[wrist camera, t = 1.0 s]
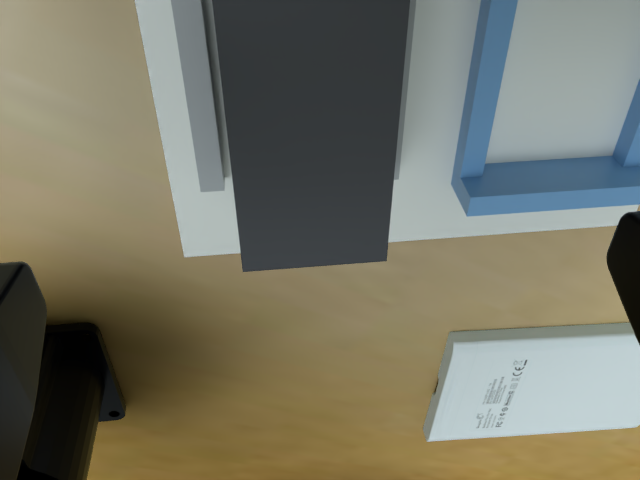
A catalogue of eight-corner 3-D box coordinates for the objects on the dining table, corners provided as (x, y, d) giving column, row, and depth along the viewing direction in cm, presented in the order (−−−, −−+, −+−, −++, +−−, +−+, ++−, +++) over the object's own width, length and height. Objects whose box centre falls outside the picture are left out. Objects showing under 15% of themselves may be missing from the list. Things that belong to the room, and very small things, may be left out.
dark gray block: (355, 157, 21) (386, 261, 17) (240, 164, 21) (243, 271, 17) (370, -195, 15) (425, -169, 10) (205, -193, 14) (192, -167, 10)
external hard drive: (622, 406, 36) (419, 421, 34) (680, 310, 31) (445, 322, 29) (636, 430, 35) (427, 447, 33) (699, 334, 30) (455, 348, 28)
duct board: (621, 212, 25) (657, 256, 23) (185, 243, 24) (180, 293, 22) (871, -420, 14) (989, -450, 12) (57, -437, 12) (19, -475, 10)
